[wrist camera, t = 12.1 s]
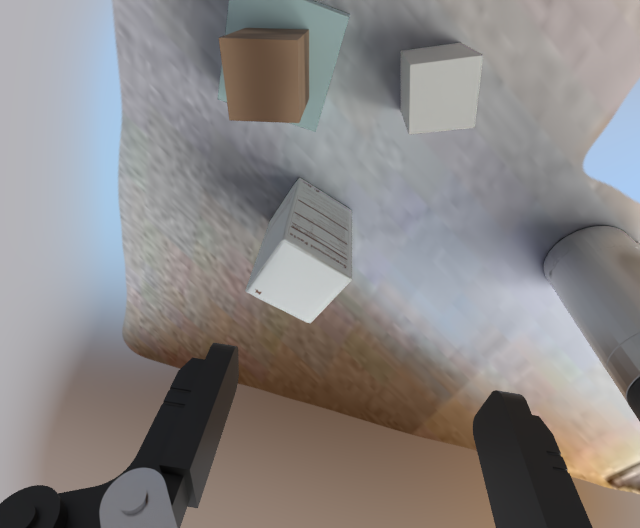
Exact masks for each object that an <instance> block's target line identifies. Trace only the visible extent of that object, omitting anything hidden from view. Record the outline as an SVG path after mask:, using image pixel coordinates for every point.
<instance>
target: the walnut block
mask: <svg viewBox="0 0 640 528" xmlns="http://www.w3.org/2000/svg"><path fill="white" fill-rule="evenodd" d="M219 44H220V52H221V59H222V67H223V74H224V82H225V89H226V97H227V105H228V112H229V120H236V121H261V122H286V123H299V122H300V120H301V118H302V115H303V113H304V110H305V108H306V105H307V103H308V100H309V29H275V28H243V29H241V30H238V31H236V32H233V33H230V34H228V35H225V36H222V37H220V38H219Z"/></svg>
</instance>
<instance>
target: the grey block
mask: <svg viewBox="0 0 640 528" xmlns="http://www.w3.org/2000/svg"><path fill="white" fill-rule="evenodd" d="M482 63H483V55H482V54H480V53H479V52H477V51H475V50H473V49H471V48H470V47H468V46H466V45H464V44H463V43H461V42H460V43H453V44H445V45H438V46H431V47H424V48H417V49H409V50H402V51H401V113H402V116H403V119H404V122H405V125H406V127H407V130H408V133H409V135H411V134H421V133H430V132H440V131H449V130H459V129H468V128H475V120H476V112H477V104H478V96H479V87H480V79H481V71H482Z"/></svg>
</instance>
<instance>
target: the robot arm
mask: <svg viewBox="0 0 640 528" xmlns="http://www.w3.org/2000/svg"><path fill="white" fill-rule="evenodd" d="M543 267H544V274H545V276H546V278H547V279H548V281H549V282H550V284H551V286H552V287H553V289H554V290H555V292H556V293H557V295H558V296H559V298H560V300H561V301H562V303H563V304H564V306H565V307H566V309H567V310H568V312H569V314H570V315H571V317H572V318H573V320H574V321H575V323H576V324H577V326H578V327H579V329H580V330H581V332H582V333H583V335H584V337H585V338H586V340H587V341H588V343H589V344H590V346H591V347H592V349H593V350H594V352H595V353H596V355H597V356H598V358H599V360H600V361H601V363H602V364H603V366H604V367H605V369H606V370H607V372H608V373H609V375H610V376H611V378H612V379H613V381H614V382H615V384H616V385H617V387H618V388H619V390H620V392H621V393H622V395H623V396H624V398H625V399H626V401H627V402H628V404H629V406H630V407H631V409H632V410H633V412H634V413H635V415H636V416H637V418H638V419H639V421H640V243H636V242H635V241H634V240H633V239H632V238H631V237H630V236H629V235H628V234H626V233H625V232H624V231H623V230H620V229H618V228H616V227H610V226H595V227H589V228H585V229H582V230H579V231H576V232H574V233H572V234H570V235H568V236H567V237H565V238H564V239H562V240H561V241H559V242H558V243H557V244H556V245H555V246H554V247H553V248H552V249H551V250H550V252H549V253H548V255H547V257H546V259H545V262H544V266H543ZM237 383H238V347H237V346H231V345H225V344H219V343H213V344H212V346H211V347H210V350H209V352H208V354H207V356H206V359H205V360H203V359H197V358H192V359H191V360H189V361H188V362H187V363H186V364H185V365H184V366H183V367H182V368H181V369H180V370H179V371H178V373H177V375H176V377H175V379H174V381H173V383H172V385H171V388H170V391H168V393H167V395H166V397H165V400H164V403H163V404H162V405H161V407H160V410H159V411H158V413H157V416H156V417H155V419H154V421H153V424H152V425H151V427H150V429H149V432H148V434H147V435H146V438H145V440H144V442H143V444H142V446H141V448H140V450H139V452H138V454H137V456H136V458H135V459H134V461H133V462H132V463H131V465H130V466H129V467H128V468H127V469H126V470H125V471H124V472H123V473H122V474H120V475H119V476H118V477H116V478H115V479H113V480H111V481H109V482H107V483H105V484H102V485H99V486H95V487H90V488H85V489H79V490H75V491H69V492H64V493H59V494H57V492H56V491H55V490H53V489H52V488H50V487H48V486H43V485H42V486H41V485H40V486H39V485H37V486H31V487H28V488H24V489H22V490H20V491H18V492H16V493H14V494H12V495H11V496H9V497H8V498H7V499H5V500H4V501H3V502H2V503H1V504H0V528H180V526H181V523H182V520H183V517H184V514H185V511H186V509H187V506H188V507H194V508H198V505H199V502H200V499H201V496H202V493H203V490H204V487H205V484H206V481H207V478H208V475H209V472H210V469H211V466H212V463H213V460H214V457H215V454H216V450H217V447H218V444H219V441H220V438H221V435H222V432H223V429H224V426H225V423H226V420H227V417H228V414H229V411H230V408H231V405H232V402H233V398H234V395H235V392H236V388H237ZM473 435H474V440H475V444H476V448H477V452H478V456H479V460H480V464H481V468H482V472H483V477H484V481H485V485H486V489H487V493H488V497H489V501H490V505H491V509H492V513H493V517H494V522H495V525H496V528H592V525H591V523H590V521H589V519H588V516H587V514H586V511H585V509H584V507H583V504H582V502H581V500H580V497H579V495H578V493H577V490H576V488H575V486H574V483H573V481H572V478H571V476H570V474H569V473H568V472H567V467H566V464H565V462H564V460H563V457H561V456H560V454H561V452H560V450H559V448H558V445H557V443H556V441H555V438H554V436H553V434H552V433H551V431H550V430H549V429H548V427H547V426H546V425H545V424H544V422H543V421H542V420H541V418H540V417H539V416H535V415H532V414H531V411H530V409H529V406H528V404H527V402H526V400H525V398H524V397H523V396H522V395H520V394H515V393H508V392H502V391H493V392H492V393H491V395H490V396H489V397H488V399H487V400H486V401H485V403H484V404H483V406H482V407H481V408H480V410H479V411H478V412H477V414H476V415H475V417H474V421H473Z"/></svg>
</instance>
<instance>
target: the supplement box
mask: <svg viewBox="0 0 640 528" xmlns="http://www.w3.org/2000/svg"><path fill="white" fill-rule="evenodd" d="M351 280H352V210H350V209H349V208H347V207H346V206H344V205H343V204H341V203H339V202H338V201H336V200H335V199H333V198H332V197H330V196H329V195H327V194H325V193H324V192H322V191H321V190H319V189H318V188H316V187H314V186H313V185H311V184H309V183H308V182H306V181H305V180H303V179H301V178H298V180H297V181H296V183H295V184H294V185H293V187H292V188H291V190H290V191H289V193H288V194H287V196H286V197H285V199H284V200H283V202H282V203H281V205H280V206H279V208H278V209H277V211H276V212H275V214H274V216H273V217H272V219H271V220H270V222H269V225H268V228H267V230H266V233H265V236H264V239H263V242H262V245H261V247H260V250H259V253H258V256H257V259H256V262H255V265H254V268H253V270H252V273H251V276H250V279H249V282H248V285H247V288H246V292H247V293H249V294H251V295H253V296H255V297H257V298H259V299H261V300H263V301H265V302H267V303H269V304H271V305H273V306H275V307H277V308H279V309H281V310H283V311H285V312H287V313H289V314H291V315H293V316H295V317H297V318H299V319H301V320H303V321H305V322H307V323H311V322H312V321H313V320H314V319H315V318H316V317H317V316H318V315H319V314H320V313H321V312H322V311H323V310H324V309H325V308H326V306H327V305H328V304H329V303H330V302H331V301H332V300H333V299H334V298H335V297H336V296H337V295H338V294H339V293H340V292H341V291H342V290H343V289H344V288H345V287H346V286H347V284H348V283H349V282H350V281H351Z"/></svg>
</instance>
